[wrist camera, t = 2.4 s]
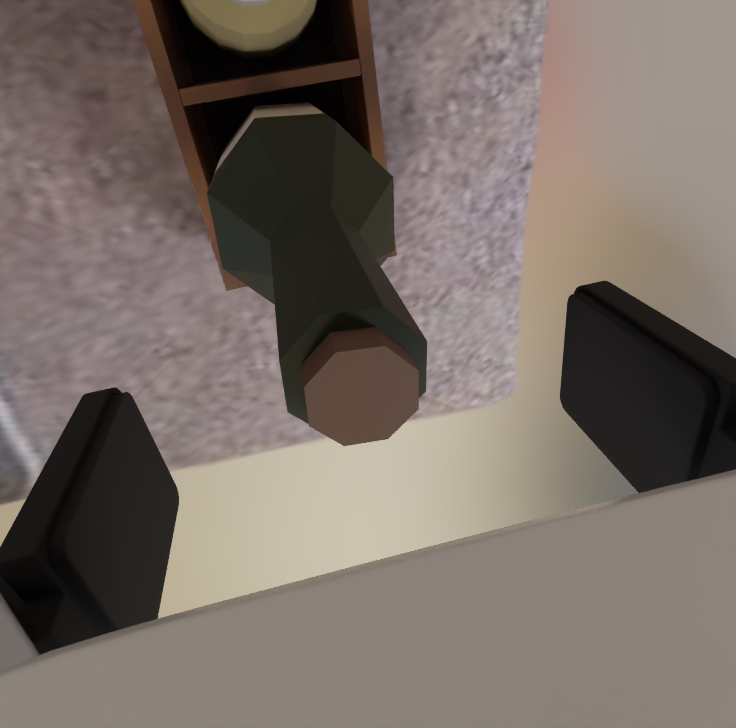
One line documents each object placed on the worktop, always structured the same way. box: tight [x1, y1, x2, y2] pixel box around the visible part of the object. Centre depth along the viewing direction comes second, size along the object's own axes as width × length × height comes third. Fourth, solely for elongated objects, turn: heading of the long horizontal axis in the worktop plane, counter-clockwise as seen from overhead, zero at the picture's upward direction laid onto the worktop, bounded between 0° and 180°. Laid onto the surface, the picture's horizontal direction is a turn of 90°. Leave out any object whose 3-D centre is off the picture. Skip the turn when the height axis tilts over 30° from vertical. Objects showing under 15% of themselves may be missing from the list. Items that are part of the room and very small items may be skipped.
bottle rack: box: [133, 0, 397, 291], centre depth 29 cm, size 21×11×8 cm, turn 8°
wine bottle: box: [207, 99, 427, 446], centre depth 23 cm, size 8×8×30 cm
